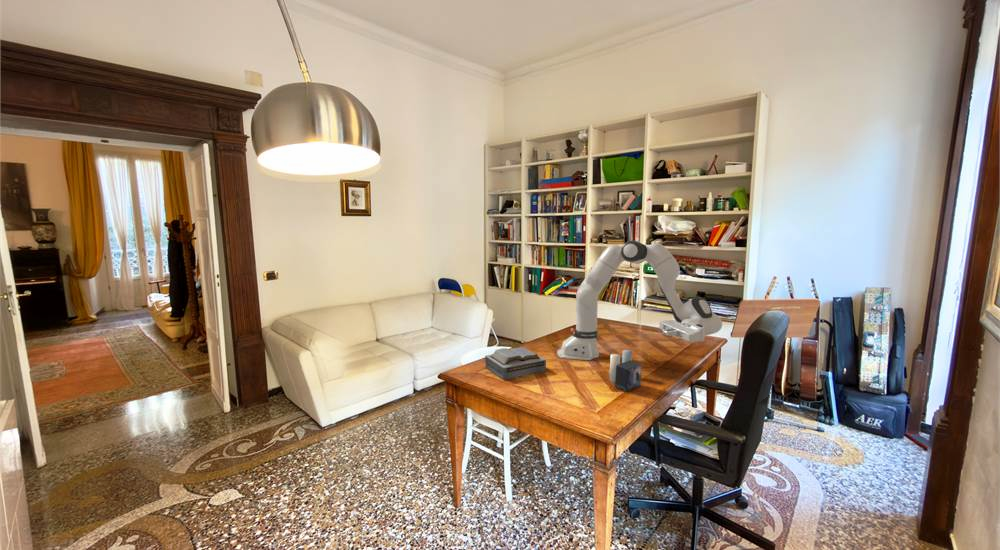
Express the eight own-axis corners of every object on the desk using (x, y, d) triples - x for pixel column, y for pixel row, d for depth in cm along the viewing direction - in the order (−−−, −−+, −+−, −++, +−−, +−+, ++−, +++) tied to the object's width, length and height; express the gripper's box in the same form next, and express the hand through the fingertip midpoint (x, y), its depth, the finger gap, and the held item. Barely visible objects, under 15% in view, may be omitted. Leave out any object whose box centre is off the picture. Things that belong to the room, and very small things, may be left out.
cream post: (610, 382, 180) (611, 356, 179) (608, 378, 185) (609, 353, 183) (620, 382, 180) (621, 356, 179) (618, 378, 184) (619, 353, 183)
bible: (482, 365, 204) (482, 346, 203) (531, 359, 212) (531, 341, 211) (496, 382, 182) (495, 361, 181) (550, 375, 190) (550, 355, 189)
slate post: (622, 377, 186) (623, 352, 184) (620, 374, 190) (621, 349, 189) (632, 377, 186) (633, 352, 184) (629, 374, 190) (630, 349, 189)
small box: (626, 392, 169) (627, 369, 168) (614, 387, 175) (615, 364, 173) (641, 386, 176) (642, 363, 174) (628, 382, 181) (629, 359, 180)
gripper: (674, 315, 191) (649, 319, 187) (708, 328, 172) (681, 333, 168) (673, 327, 193) (649, 332, 189) (707, 342, 174) (681, 347, 169)
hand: (664, 332), depth 178 cm, fingers closed
